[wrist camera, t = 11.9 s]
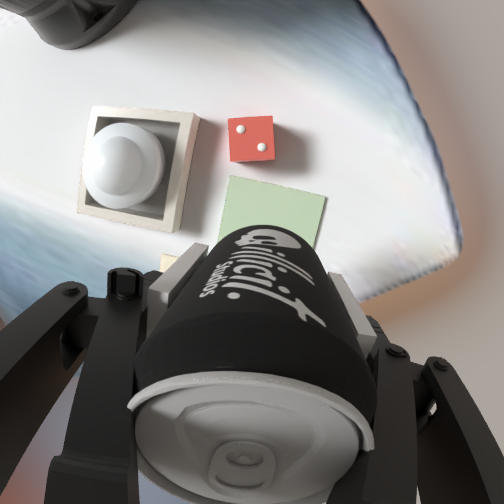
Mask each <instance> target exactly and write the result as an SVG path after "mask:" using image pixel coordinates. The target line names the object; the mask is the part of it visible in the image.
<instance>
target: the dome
mask: <svg viewBox="0 0 504 504" xmlns="http://www.w3.org/2000/svg"><path fill="white" fill-rule="evenodd" d="M164 171H165V154H164V150H163V148H162V145H161V143H160V141H159V140H158V138H157V137H156V136H155V135H154V134H153V133H152V132H151V131H149V130H147V129H145V128H143V127H140V126H136V125H132V124H129V123H115V124H111V125H109V126H107V127H105V128H103V129H102V130H100V131H99V132H98V133H97V134H96V135H95V136H94V137H93V138H92V140H91V141H90V143H89V145H88V147H87V149H86V151H85V155H84V159H83V178H84V182H85V185H86V188H87V190H88V192H89V193H90V195H91V196H92V197H93V198H94V199H95V200H96V201H97V202H98V203H100V204H101V205H103V206H105V207H108V208H113V209H121V208H125V207H129V206H132V205H135V204H138V203H141V202H143V201H145V200H147V199H148V198H149V197H150V196H152V195H153V194H154V192H155V191H156V190H157V188H158V187H159V185H160V183H161V181H162V178H163V175H164Z"/></svg>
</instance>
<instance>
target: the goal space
mask: <svg viewBox="0 0 504 504" xmlns="http://www.w3.org/2000/svg"><path fill="white" fill-rule="evenodd" d="M324 201H325V196H321V195H317V194H313V193H309V192H304V191H300V190H296V189H292V188H287V187H283V186H279V185H274V184H270V183H265V182H260V181H256V180H251V179H246V178H241V177H236V176H231V175H230V179H229V184H228V189H227V194H226V199H225V205H224V210H223V215H222V220H221V226H220V231H219V236H218V242H219V241H220V240H222V239H223V238H224V237H225V236H227V235H228V234H230V233H232V232H233V231H236V230H238V229H240V228H243V227H247V226H252V225H273V226H278V227H282V228H285V229H288V230H290V231H292V232H294V233H296V234H297V235H299V236H300V237H302V238H303V239H304V240H305V241H306V242H307V243H308V244H309V245H310V246H311V247H312V248H313V244H314V241H315V237H316V233H317V229H318V225H319V221H320V217H321V213H322V209H323V205H324ZM218 242H217V243H218Z"/></svg>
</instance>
